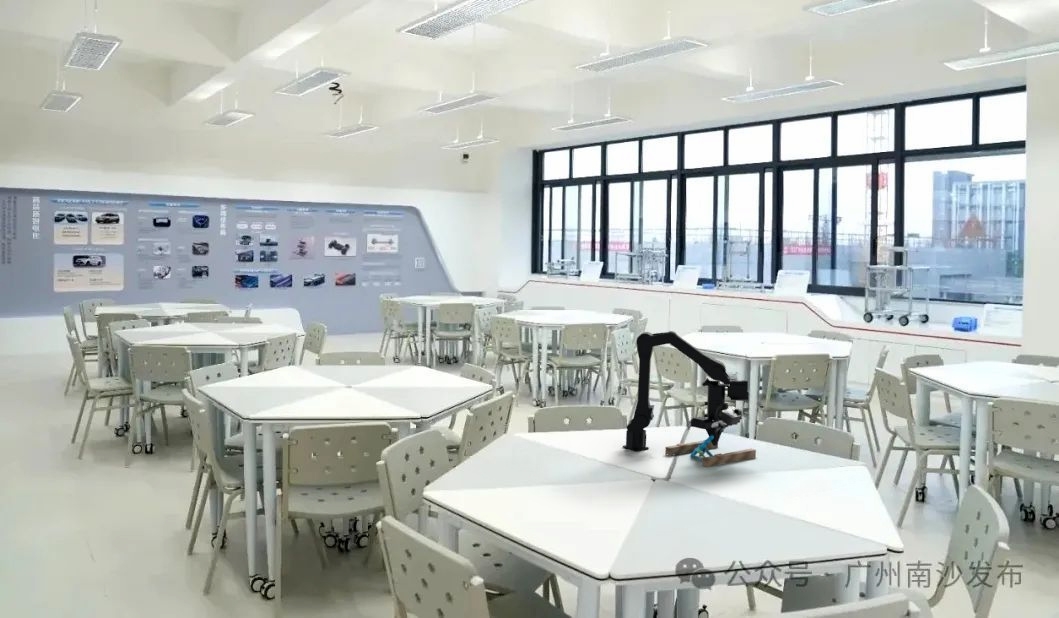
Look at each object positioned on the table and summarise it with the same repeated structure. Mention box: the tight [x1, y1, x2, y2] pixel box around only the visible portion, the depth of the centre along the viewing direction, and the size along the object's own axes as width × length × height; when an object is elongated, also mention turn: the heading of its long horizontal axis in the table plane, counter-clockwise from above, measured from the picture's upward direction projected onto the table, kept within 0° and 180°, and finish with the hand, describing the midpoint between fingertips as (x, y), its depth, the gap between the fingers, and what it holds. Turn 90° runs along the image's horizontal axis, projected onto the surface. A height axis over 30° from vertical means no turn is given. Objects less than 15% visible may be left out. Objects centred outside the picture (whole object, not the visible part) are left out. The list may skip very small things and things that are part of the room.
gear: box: [689, 435, 714, 459], centre depth 262 cm, size 11×6×10 cm
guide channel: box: [665, 439, 757, 468], centre depth 266 cm, size 24×18×3 cm
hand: (714, 445), depth 267 cm, fingers closed
